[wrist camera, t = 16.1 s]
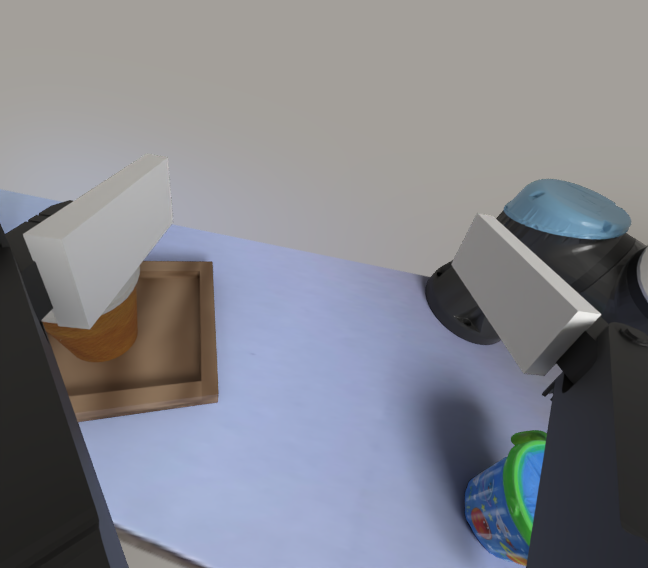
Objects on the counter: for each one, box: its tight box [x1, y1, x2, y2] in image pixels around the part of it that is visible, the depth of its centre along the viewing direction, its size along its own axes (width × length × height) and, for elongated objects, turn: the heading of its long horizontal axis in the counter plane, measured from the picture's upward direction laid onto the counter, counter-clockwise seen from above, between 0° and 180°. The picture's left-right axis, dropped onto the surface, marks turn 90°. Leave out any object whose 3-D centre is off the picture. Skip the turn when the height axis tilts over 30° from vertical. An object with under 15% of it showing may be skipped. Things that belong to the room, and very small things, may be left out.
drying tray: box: [46, 261, 218, 422], centre depth 36 cm, size 18×18×2 cm
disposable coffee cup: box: [42, 266, 140, 362], centre depth 30 cm, size 10×10×12 cm
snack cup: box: [465, 430, 547, 566], centre depth 32 cm, size 16×10×10 cm
